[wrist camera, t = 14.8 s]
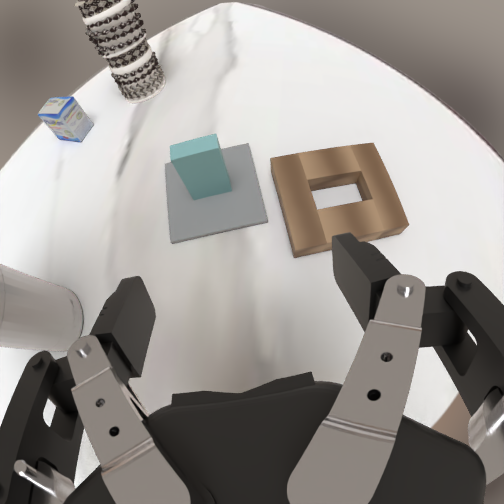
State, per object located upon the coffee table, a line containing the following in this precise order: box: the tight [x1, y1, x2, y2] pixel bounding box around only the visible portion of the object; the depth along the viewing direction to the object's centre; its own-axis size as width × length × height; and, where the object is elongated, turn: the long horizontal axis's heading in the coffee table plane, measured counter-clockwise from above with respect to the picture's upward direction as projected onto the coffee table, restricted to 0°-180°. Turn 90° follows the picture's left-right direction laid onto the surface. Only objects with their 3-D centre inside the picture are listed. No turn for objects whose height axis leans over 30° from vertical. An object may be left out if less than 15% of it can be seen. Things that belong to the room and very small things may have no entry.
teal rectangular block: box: [170, 134, 232, 200], centre depth 32 cm, size 5×2×9 cm, turn 102°
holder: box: [270, 143, 409, 258], centre depth 33 cm, size 14×12×3 cm
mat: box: [165, 143, 268, 244], centre depth 36 cm, size 12×12×1 cm
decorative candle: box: [74, 0, 166, 103], centre depth 33 cm, size 9×9×25 cm
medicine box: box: [38, 97, 93, 142], centre depth 40 cm, size 8×4×9 cm, turn 70°
